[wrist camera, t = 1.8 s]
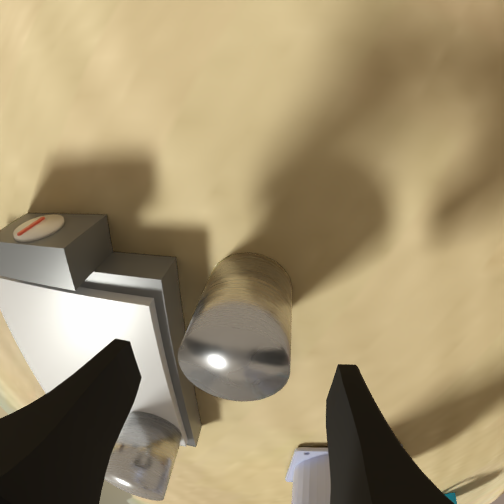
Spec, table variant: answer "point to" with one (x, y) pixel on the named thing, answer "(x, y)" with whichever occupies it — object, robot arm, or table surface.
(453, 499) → the mug
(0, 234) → the scale
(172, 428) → the cylinder
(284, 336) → the cylinder
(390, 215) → the table surface
